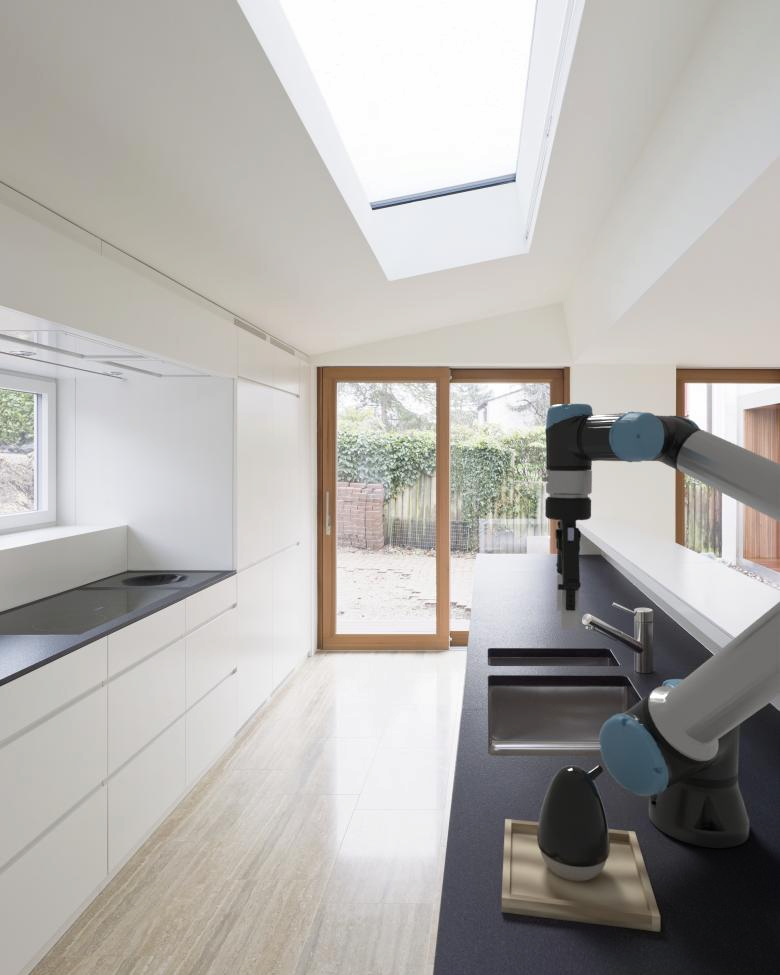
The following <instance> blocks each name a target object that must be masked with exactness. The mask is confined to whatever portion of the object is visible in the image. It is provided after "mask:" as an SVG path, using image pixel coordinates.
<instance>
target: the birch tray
mask: <svg viewBox="0 0 780 975" xmlns="http://www.w3.org/2000/svg"><path fill="white" fill-rule="evenodd" d="M538 824H539V821H531V820H520V819H513V818H512V819H509V818H505V819H504V836H503V837H504V839H503V840H504V841H503V842H504V843H503V857H502V859H503V863H502V864H503V865H502V881H501V882H502V884H501V913H506V914H512V915H513V914H514V915H522V916H529V917H531V916H532V917H538V918H546V919H553V920H561V921H571V922H577V923H585V924H593V925H600V926H601V925H602V926H603V925H604V926H611V927H616V928H617V927H619V928H626V929H634V930H643V931H648V932H649V931H650V932H656V933H657V932H658V933H660V932H661V914H660V911H659V907H658V905H657V901H656V898H655V894H654V891H653V888H652V884H651V880H650V877H649V874H648V871H647V868H646V865H645V861H644V857H643V854H642V851H641V848H640V844H639V841H638V838H637V835H636V832H635V831H632V830H631V831H630V830H623V829H620V830H619V829H611V828H608V831H609V838H610V854H609V857H608V858H607V860H606V863H605V865H604V867H603V869H602V870H601V872H600V873H599V874H598V875H597V876H595V877H594V878H592V879H589V880H585V881H572V880H568V879H565V878H562V877H560V876H558V875H557V874H555V873H554V872H553V871H552V870H551V869H550V868H549V867H548V866H547V865H546V863H545V861H544V859H543V857H542V855H541V851H540V849H539V847H538V844H537V830H538Z"/></svg>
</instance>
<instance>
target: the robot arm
mask: <svg viewBox="0 0 780 975" xmlns="http://www.w3.org/2000/svg"><path fill="white" fill-rule="evenodd" d="M544 432H545V448H546V449H545V451H546V457H545V458H546V462H545V465H546V466H545V469H546V472H545V474H546V475H543V476H542V478H541V479H542V482H544V483H545V482H546V484H545V493H546V494H548V495H549V496H547V497H546V498H545V514H544V515H545V517H546V519H548V520H553V521H557V528H555V532H554V534H555V540H556V543H555V544H556V546H555V548H556V549H557V553H556V554H557V556H556V564H555V565H556V566H555V567H556V573H557V574H556V611H557V612H560V630H561V631H579V626H580V625H579V621H580V618H579V616H580V614H579V611H580V590H579V589H580V588H581V582H580V551H581V550H580V549H581V545H580V542H581V538H582V535H581V530H580V528H578V527H577V521H587V520H589V519H590V518H591V517H592V499H591V497H589V495H590V494H592V491H593V490H592V489H593V487H592V486H593V484H592V482H593V471H592V465H593V464H592V463H593V462H597V461H601V462H627V463H641V462H661V463H662V464H665V465H666V466H668V467H670V468H672V469H674V470H676V471H679V472H681V473H683V474H685V475H686V476H688V477H690V478H693V479H694V480H696V481H699V482H701V483H702V484H704V485H706V486H708V487H710V488H713V489H715V490H716V491H718V492H719V493H722V494H723V495H726V496H728V497H730V498H731V499H733V500H736V501H737V502H739V503H741V504H743V505H745V506H747V507H749V508H750V509H753V510H755V511H757V512H759V513H760V514H763V515H765V516H767V517H768V518H771V519H772V520H774V521H777V522H779V523H780V463H779V462H776V461H773V460H771V459H769V458H767V457H764V456H762V455H760V454H758V453H755V452H754V451H751V450H749V449H747V448H745V447H742V446H739V445H738V444H735V443H734V442H731V441H729V440H726V439H724V438H721V437H719V436H717V435H715V434H712V433H711V432H708V431H706V430H704V429H701V428H700V427H699V426H698V424H697V423H696V422H695V421H693V420H691V419H690V418H686V417H682V416H680V415H655V414H654V413H651V412H642V411H627V412H622V413H620V412H619V413H610V414H608V413H607V414H594V413H593V407H592V406H591V405H590V404H588V403H562V404H552V405H551V406H549V407H548V409H547V411H546V425H545V431H544ZM778 697H780V601H778V602H777V603H775V605H774V606H772V607H771V608H770V609H768V610H767V611H766V612H765V613H764V614H762V615H761V616H760V617H759V618H757V619H756V620H755V621H753V623H752V624H750V625H749V626H748V627H747V628H745V629H744V630H742V631H741V633H739V634H738V635H737V636H735V637H734V638H733V639H732V640H730V641H729V642H728V643H727V644H725V645H724V646H723V647H722V648H721V649H719V650H718V651H717V652H715V654H713V655H712V656H710V657H709V658H708V659H707V660H706V661H705V662H704V663H702V664H701V665H700V666H698V667H697V668H696V669H695V670H694V671H693V672H691V673H690V674H689V675H688V676H687V677H685V678H684V679H683V678H674V679H673V678H672V679H671V678H669V679H667V680H665V681H663V682H662V686H658V687H656V688H654V689H653V690H652V691H649V693H647V695H646V696H644V697H643V698H642V699H641V700H639V701H638V702H637V703H636V704H634V705H633V706H632V707H631V708H629V709H628V710H626V711H625V712H622V713H616V714H613V715H612V716H611V717H610V718H608V719H607V720H606V721H605V722H603V724H602V727H601V728H600V732H599V735H598V743H599V745H600V748H599V750H600V752H599V753H600V755H601V758H602V761H603V763H604V765H605V767H606V768H607V771H608V773H609V774H610V775H611V777H612V778H613V779H614V780H615V782H617V783H618V784H619V786H621V787H622V788H624V789H625V790H626V791H629V792H631V793H632V794H634V795H637V796H640V797H649V799H648V817H649V820H650V821H651V822H652V824H653V825H654V826H655V827H656V828H657V829H658V830H660V831H661V832H662V833H664V834H665V835H667V836H669V837H671V838H673V839H675V840H678V841H679V842H683V843H686V844H690V845H693V846H698V847H703V848H712V849H725V848H726V849H728V848H735V847H738V846H740V845H743V844H744V843H745V842H746V841H747V840H748V838H749V837H750V818H749V814H748V813H747V810H746V805H745V802H744V799H743V797H742V793H741V790H740V787H739V753H740V751H739V750H740V749H739V748H740V725H741V724H742V723H743V722H744V721H746V720H747V719H748V718H750V717H751V716H753V715H755V714H756V713H757V712H759V711H760V710H761V709H763V708H764V707H766V706H767V705H768V704H770V703H771V702H773V701H775V699H777V698H778Z"/></svg>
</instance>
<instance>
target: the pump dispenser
mask: <svg viewBox="0 0 780 975" xmlns="http://www.w3.org/2000/svg"><path fill="white" fill-rule="evenodd" d="M603 772H604V769H603V767H602V766H601V765H599V764H597V765H596V766H594V767H593V768H591V769H589V770H588V771H587V770H585V769H584V768H582V767H580V766H577V765H575V764H574V765H573V764H572V765H566V766H563V767H560V769H559V770H558V771H557V772H556V774H554V776H553V778H552V779H551V781H550V783H549V785H548V788H547V790H546V793H545V796H544V798H543V801H542V802H543V803H542V806H541V810H540V813H539V818H538V822H539V824H538V830H537V844H538V847H539V849H540V851H541V855H542V857H543V859H544V861H545V863H546V865H547V866H548V867H549V868H550V869H551V870H552V871H553V872H554V873H555V874H557V875H558V876H560V877H562V878H565V879H568V880H572V881H585V880H589V879H592V878H594V877H595V876H597V875H598V874H599V873H600V872H601V870H602V869H603V867H604V865H605V863H606V860H607V858H608V857H609V854H610V838H609V831H608V829H609V825H608V820H607V815H606V811H605V807H604V804H603V800H602V798H601V795H600V792H599V790H598V787H597V784H596V783H595V781H594V780H595V779H597V778H598V777H599V776H600V775H601V774H602V773H603Z"/></svg>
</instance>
